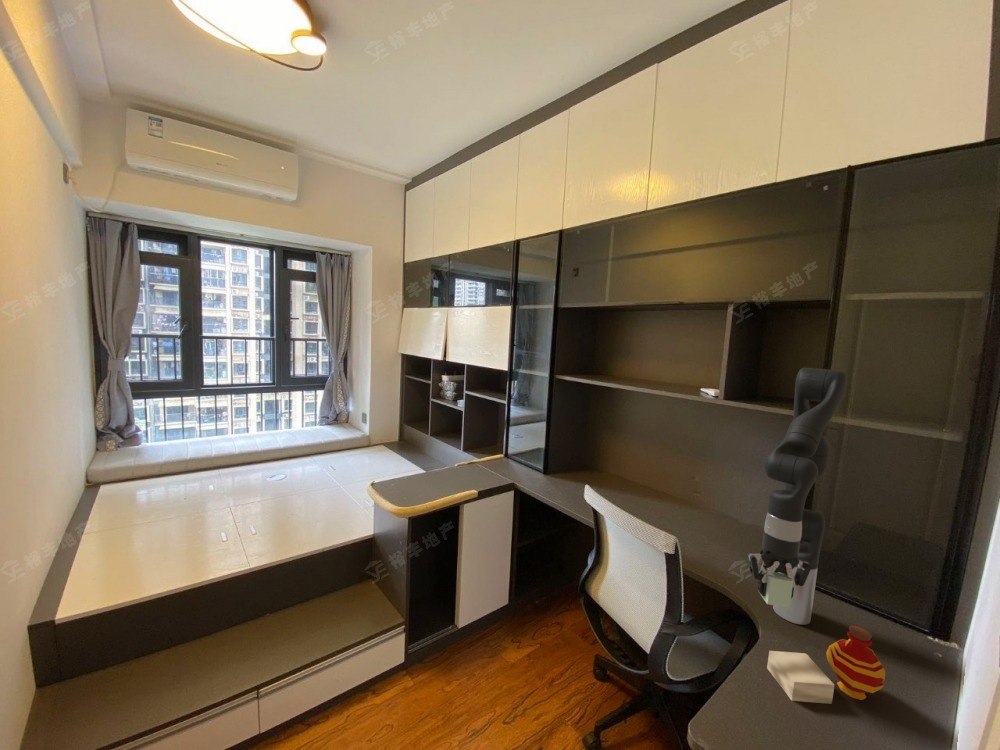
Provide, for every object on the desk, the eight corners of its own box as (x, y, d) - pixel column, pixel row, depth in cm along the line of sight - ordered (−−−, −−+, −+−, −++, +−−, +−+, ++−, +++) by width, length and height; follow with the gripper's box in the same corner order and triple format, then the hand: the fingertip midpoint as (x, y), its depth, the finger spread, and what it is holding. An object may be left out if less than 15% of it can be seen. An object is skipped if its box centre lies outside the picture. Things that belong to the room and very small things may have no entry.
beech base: (766, 668, 100) (769, 650, 100) (803, 671, 100) (805, 653, 99) (791, 701, 91) (794, 681, 91) (831, 704, 91) (834, 684, 90)
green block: (758, 591, 104) (761, 566, 103) (779, 595, 103) (783, 569, 102) (767, 604, 99) (770, 578, 99) (789, 607, 98) (793, 581, 98)
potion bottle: (852, 671, 100) (860, 616, 99) (893, 710, 90) (904, 649, 88) (812, 671, 100) (819, 615, 98) (849, 710, 89) (858, 648, 88)
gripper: (806, 530, 102) (797, 592, 103) (744, 522, 104) (737, 582, 106) (823, 544, 94) (814, 611, 96) (757, 535, 97) (749, 600, 99)
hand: (774, 596), depth 101 cm, fingers closed on green block, 5 cm apart
